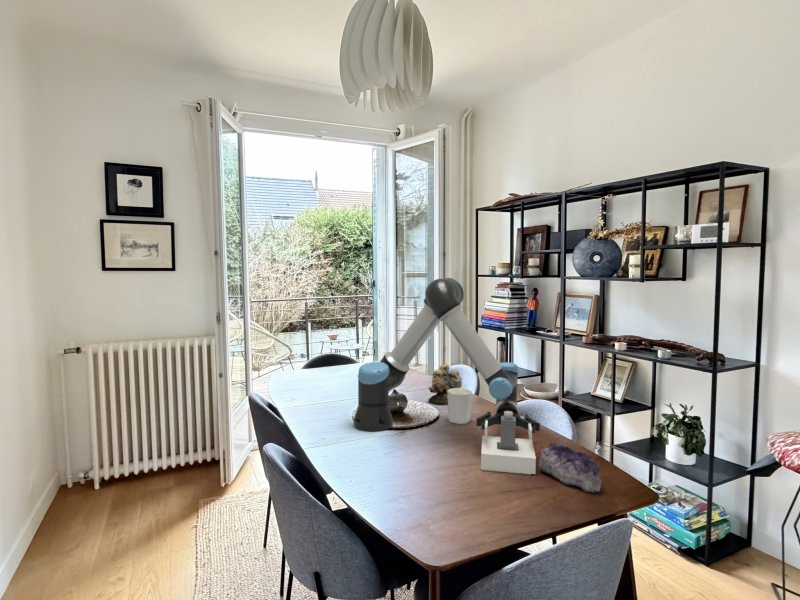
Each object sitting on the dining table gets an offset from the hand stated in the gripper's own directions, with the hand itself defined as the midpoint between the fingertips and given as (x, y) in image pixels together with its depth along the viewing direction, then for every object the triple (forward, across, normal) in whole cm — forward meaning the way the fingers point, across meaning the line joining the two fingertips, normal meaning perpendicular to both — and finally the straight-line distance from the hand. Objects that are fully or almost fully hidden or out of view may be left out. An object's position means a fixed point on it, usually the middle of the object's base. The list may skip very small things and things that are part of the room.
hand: (508, 432), depth 149 cm
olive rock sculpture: (-65, +26, -10) cm, 71 cm away
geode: (+6, -18, -10) cm, 22 cm away
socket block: (-2, 0, -10) cm, 10 cm away
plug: (-2, 0, -9) cm, 9 cm away
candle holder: (-39, +18, -10) cm, 44 cm away
